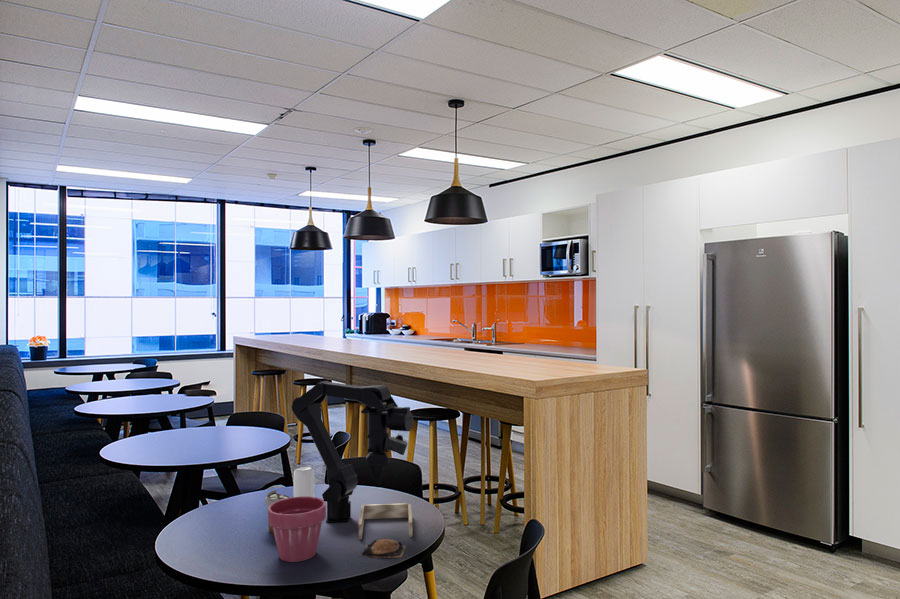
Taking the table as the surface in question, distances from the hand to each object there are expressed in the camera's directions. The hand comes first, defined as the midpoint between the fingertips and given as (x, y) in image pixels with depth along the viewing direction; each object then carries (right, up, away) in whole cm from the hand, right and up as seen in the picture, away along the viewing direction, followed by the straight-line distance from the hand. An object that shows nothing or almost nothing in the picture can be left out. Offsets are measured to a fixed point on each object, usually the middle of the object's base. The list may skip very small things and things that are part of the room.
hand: (378, 482), depth 178 cm
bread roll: (+4, -12, -20) cm, 24 cm away
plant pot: (-18, -12, -22) cm, 31 cm away
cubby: (+3, -12, -3) cm, 12 cm away
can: (-26, -13, +18) cm, 34 cm away
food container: (-28, -12, -5) cm, 31 cm away
